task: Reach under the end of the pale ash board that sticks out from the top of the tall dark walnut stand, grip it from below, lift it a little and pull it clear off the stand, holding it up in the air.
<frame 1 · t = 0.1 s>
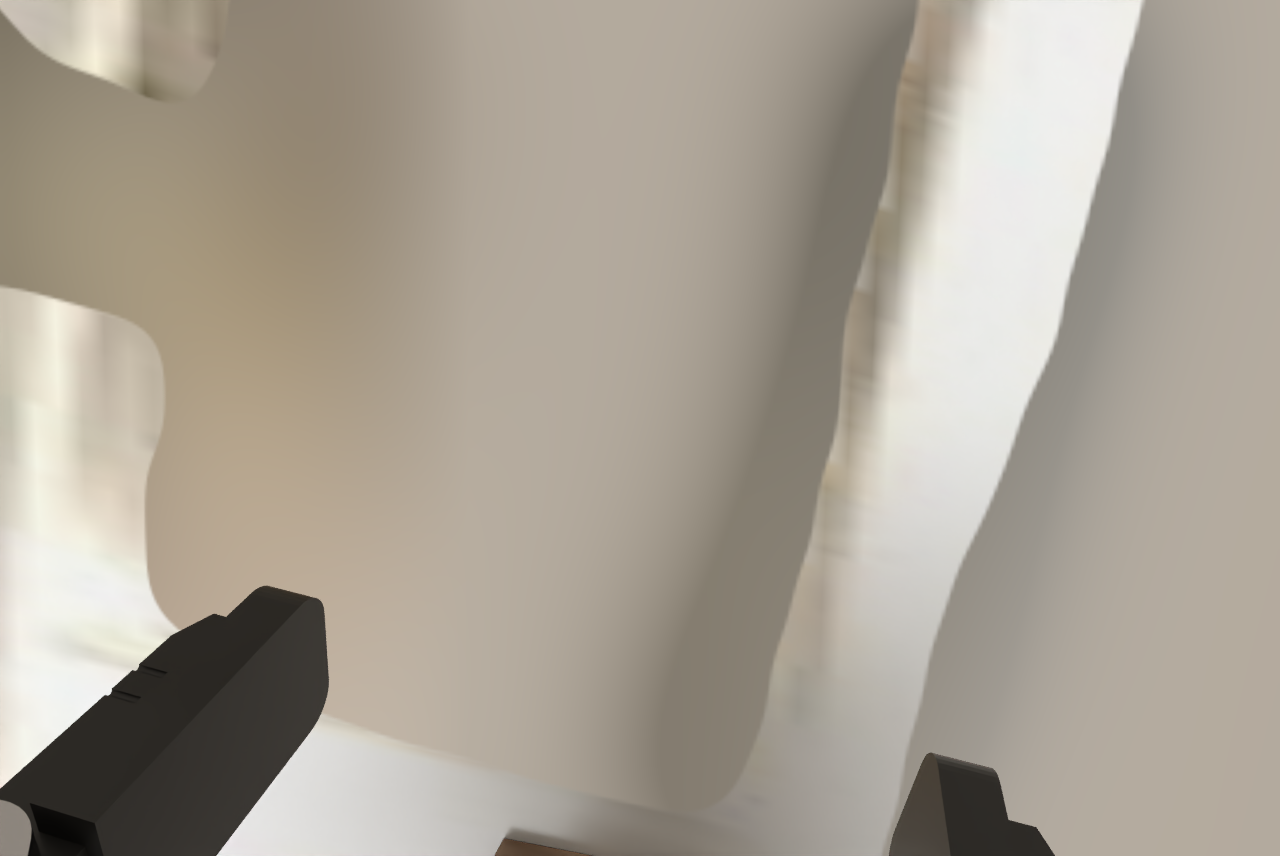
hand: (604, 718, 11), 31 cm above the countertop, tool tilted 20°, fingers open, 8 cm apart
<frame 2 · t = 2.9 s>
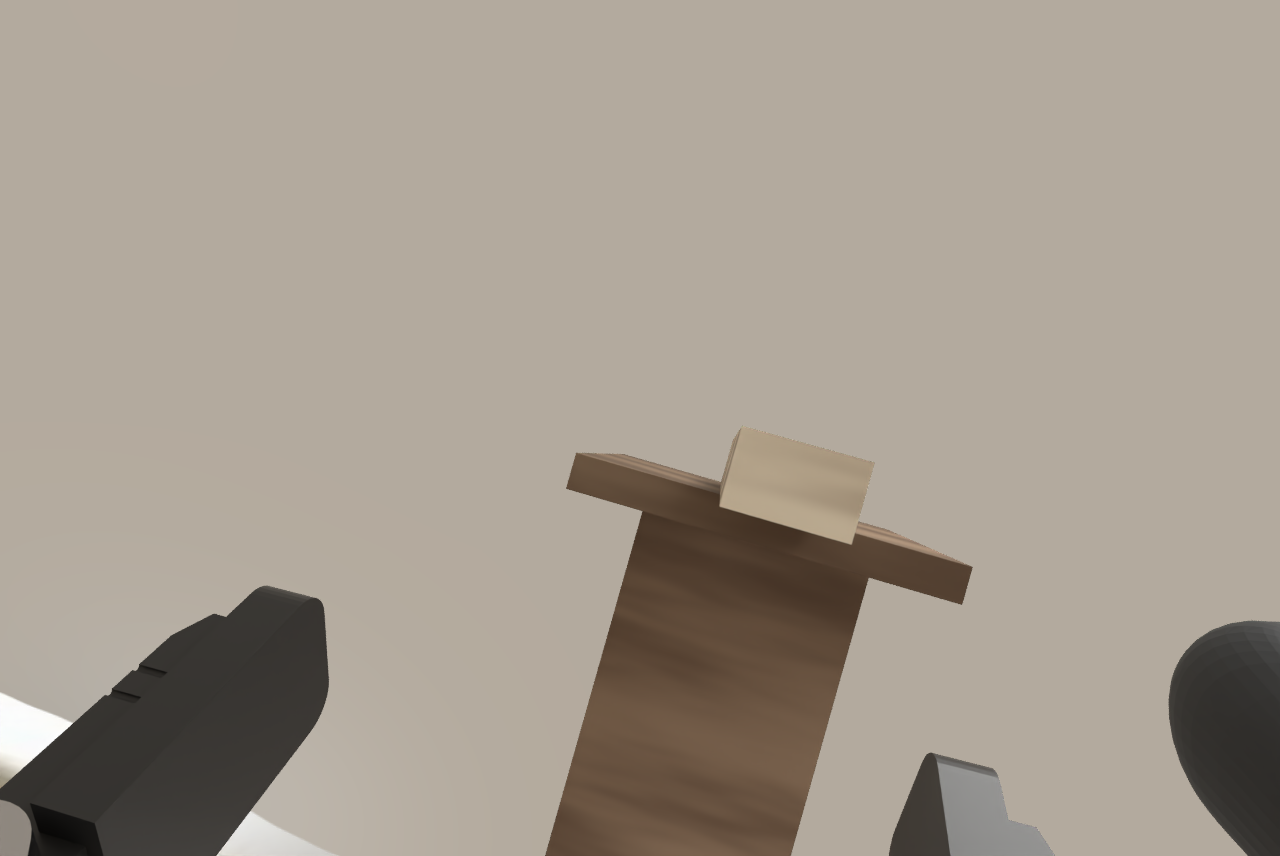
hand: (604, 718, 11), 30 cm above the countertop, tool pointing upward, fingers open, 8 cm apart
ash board: (766, 505, 34), point 32 cm above the countertop, touching walnut stand
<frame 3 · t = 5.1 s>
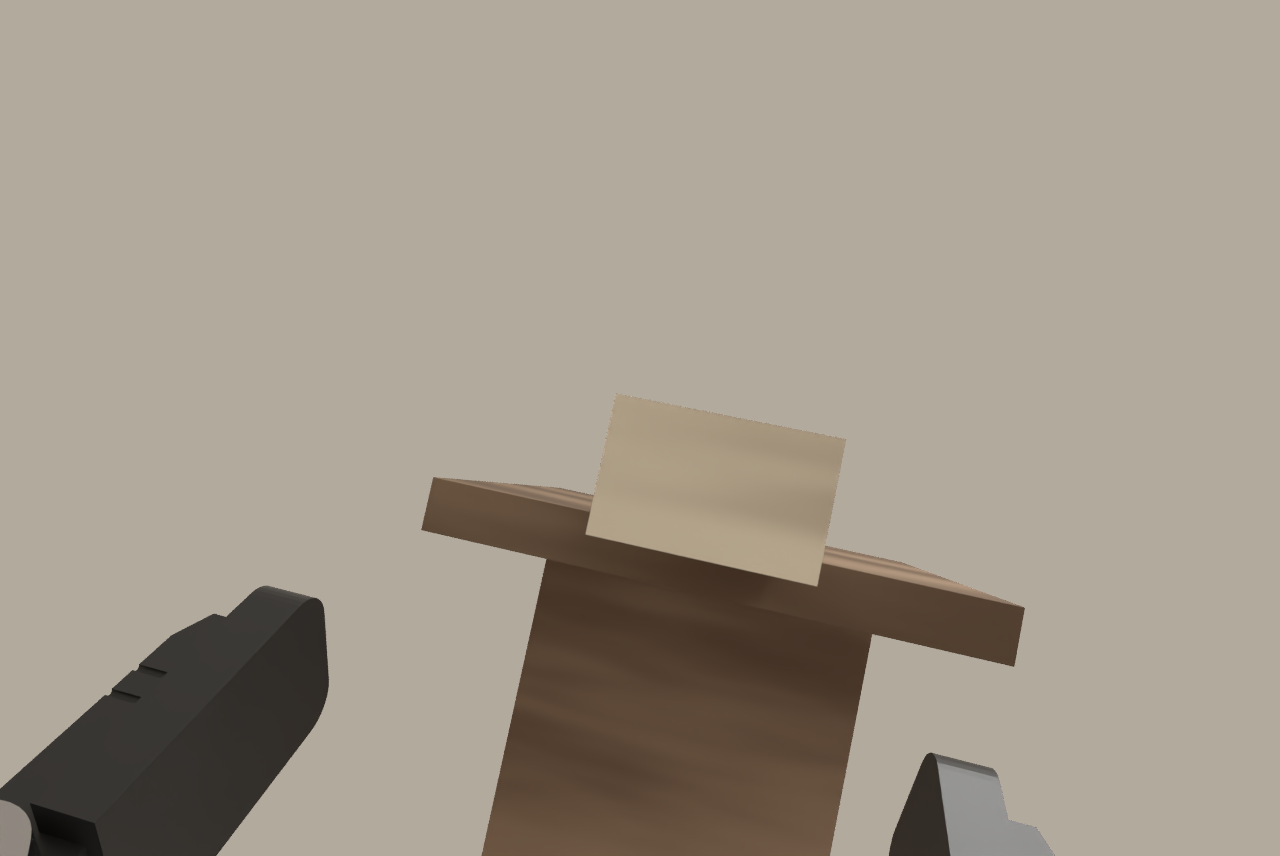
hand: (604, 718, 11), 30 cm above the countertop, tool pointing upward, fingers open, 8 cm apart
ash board: (716, 536, 24), point 32 cm above the countertop, touching walnut stand
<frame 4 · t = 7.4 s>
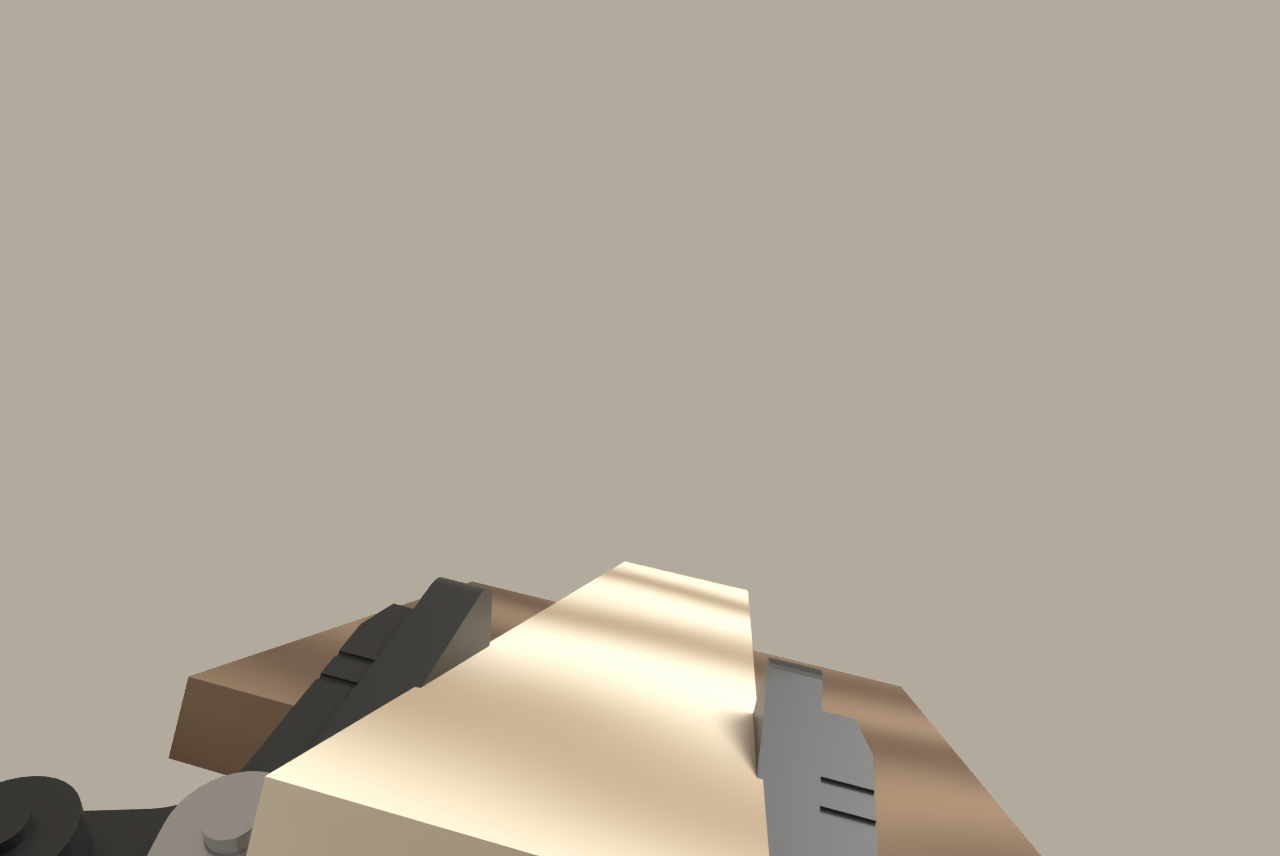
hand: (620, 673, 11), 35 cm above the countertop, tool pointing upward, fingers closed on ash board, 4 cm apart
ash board: (624, 754, 16), point 32 cm above the countertop, touching gripper, walnut stand
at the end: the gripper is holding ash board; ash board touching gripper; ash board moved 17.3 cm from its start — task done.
